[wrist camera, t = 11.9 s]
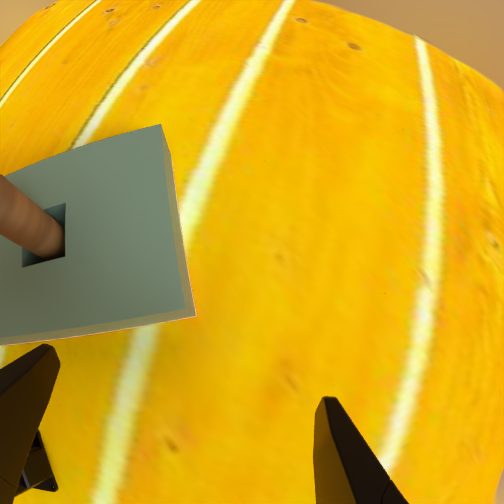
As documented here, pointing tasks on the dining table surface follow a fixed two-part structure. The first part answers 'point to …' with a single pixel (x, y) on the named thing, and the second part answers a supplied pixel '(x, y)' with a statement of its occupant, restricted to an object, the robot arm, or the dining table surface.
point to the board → (99, 244)
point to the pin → (29, 224)
